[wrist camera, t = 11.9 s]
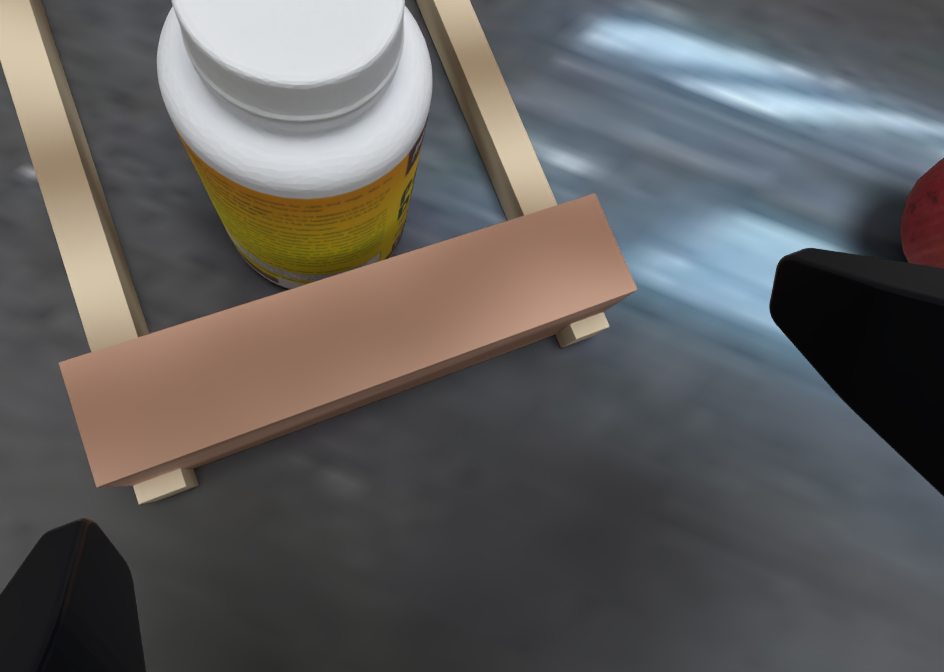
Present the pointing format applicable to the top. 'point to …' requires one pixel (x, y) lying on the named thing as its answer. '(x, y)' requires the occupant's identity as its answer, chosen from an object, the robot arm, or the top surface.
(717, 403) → the top surface
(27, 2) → the rail track
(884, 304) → the robot arm
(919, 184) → the red round piece
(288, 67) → the supplement bottle
